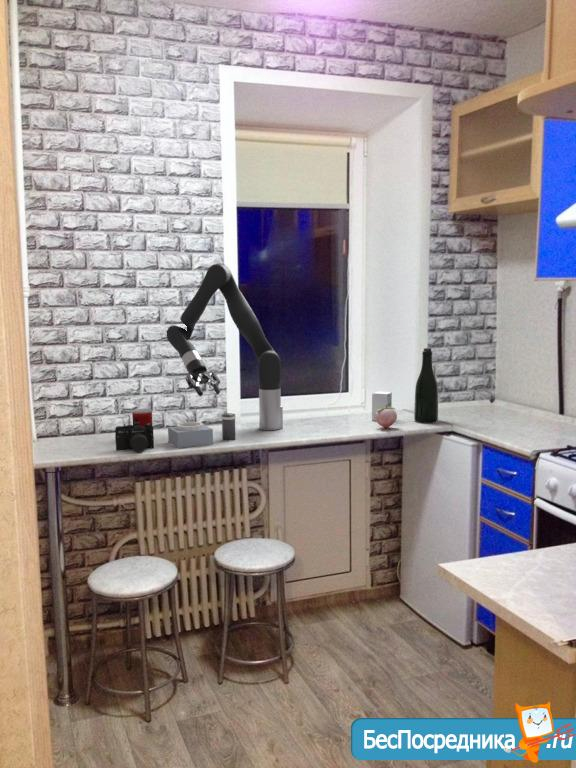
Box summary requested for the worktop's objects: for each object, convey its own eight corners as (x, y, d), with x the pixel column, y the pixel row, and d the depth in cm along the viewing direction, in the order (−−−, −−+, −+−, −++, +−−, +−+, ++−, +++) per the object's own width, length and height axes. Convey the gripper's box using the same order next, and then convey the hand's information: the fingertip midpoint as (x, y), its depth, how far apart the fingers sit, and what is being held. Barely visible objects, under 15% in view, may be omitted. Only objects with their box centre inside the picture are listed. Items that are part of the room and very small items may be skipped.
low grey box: (202, 438, 270) (201, 420, 269) (213, 444, 259) (212, 425, 258) (168, 442, 264) (167, 423, 263) (177, 448, 253) (177, 428, 252)
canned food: (156, 435, 277) (155, 409, 275) (146, 439, 269) (145, 412, 268) (139, 434, 279) (138, 408, 278) (129, 438, 271) (128, 411, 270)
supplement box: (387, 421, 303) (387, 394, 301) (371, 420, 306) (371, 393, 304) (391, 419, 310) (392, 391, 308) (376, 418, 313) (376, 391, 311)
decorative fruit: (386, 425, 294) (387, 402, 293) (400, 428, 288) (400, 405, 286) (370, 428, 289) (370, 405, 288) (383, 431, 282) (384, 407, 281)
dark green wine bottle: (413, 419, 309) (414, 347, 305) (436, 419, 308) (437, 347, 304) (415, 423, 298) (416, 349, 294) (439, 423, 297) (440, 349, 293)
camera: (116, 455, 243) (115, 428, 242) (115, 449, 253) (114, 422, 252) (155, 452, 247) (154, 425, 246) (153, 446, 257) (152, 420, 256)
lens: (232, 437, 272) (232, 412, 271) (237, 439, 268) (237, 414, 266) (220, 438, 270) (219, 414, 269) (225, 441, 265) (224, 416, 264)
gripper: (183, 359, 275) (199, 389, 268) (211, 357, 284) (228, 386, 278) (176, 370, 280) (192, 401, 273) (204, 368, 289) (220, 398, 282)
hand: (210, 394), depth 275 cm, fingers open, 8 cm apart
